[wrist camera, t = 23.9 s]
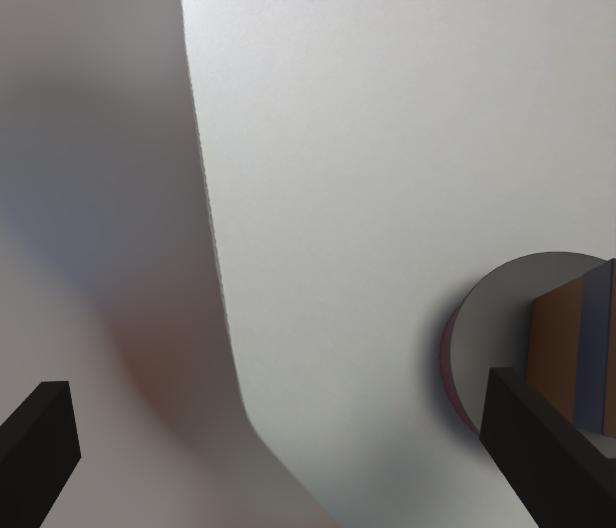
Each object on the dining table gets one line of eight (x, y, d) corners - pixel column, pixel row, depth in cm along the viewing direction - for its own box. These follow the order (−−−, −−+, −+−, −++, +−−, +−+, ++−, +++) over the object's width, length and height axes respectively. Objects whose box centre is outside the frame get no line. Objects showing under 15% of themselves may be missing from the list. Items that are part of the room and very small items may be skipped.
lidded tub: (475, 487, 28) (503, 517, 22) (409, 306, 32) (417, 289, 26) (668, 433, 27) (753, 449, 21) (578, 253, 31) (628, 223, 25)
